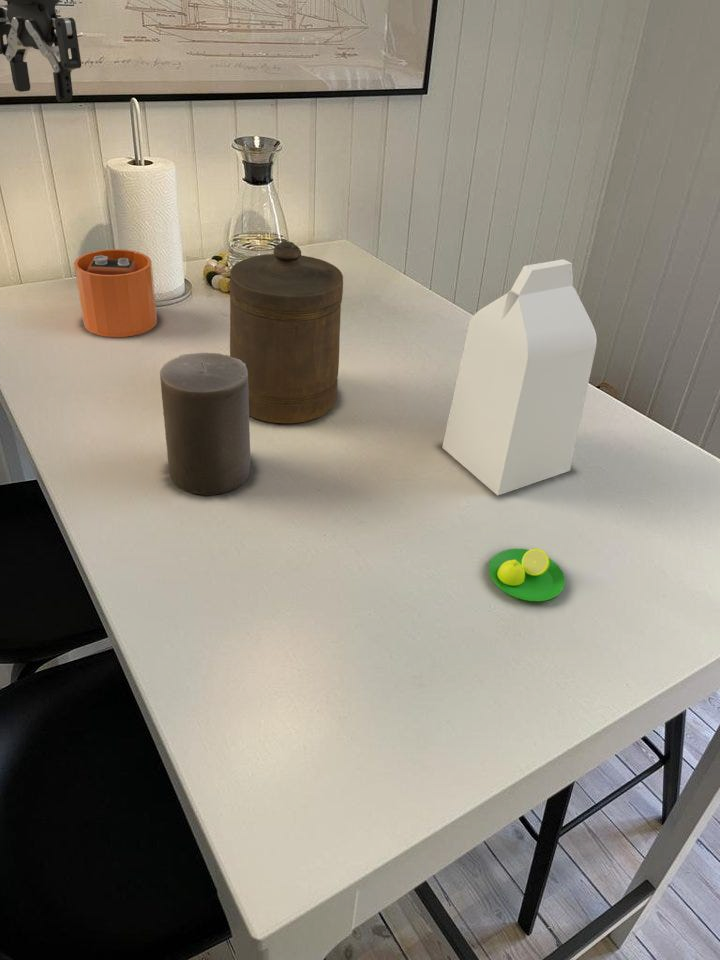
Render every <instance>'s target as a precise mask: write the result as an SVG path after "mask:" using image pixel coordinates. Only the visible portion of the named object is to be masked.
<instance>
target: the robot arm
mask: <svg viewBox="0 0 720 960" xmlns="http://www.w3.org/2000/svg"><path fill="white" fill-rule="evenodd" d="M3 1H5V2H7V3H6V4H0V55H3V56H4V57H5V59H6V60H7V61H8V62H9V66H10V72H11V79H12V83H13V86H14V90H15V91H17V92H19V93H20V92H29V91H31V80H30V73H29V68H28V62H27V61H25V60H26V59H27V55H28V52H29V50H31V49H32V48H33V49H34V50H38V51H40V54H41V55H42V56H43V57H44V58H46V59H47V61H48V62H49V64H50V65H51V68H52V70H53V71H52V76H53V83H54V90H55V91H54V92H55V98H56V101H57V102H60V103H69V102H71V101H73V95H74V92H73V81H72V75H71V74H72V71H74V70H76V69H81V68H82V58H81V52H80V45H79V38H78V31H77V25H76V21H75V19H74V18H73V17H58V15H57V12H56V6H57V5H58V4H59V3H60V1H61V0H3ZM4 36H6V38H5V39H6V43H4V42H5V41H4ZM69 49H70V55H71V58H70V55H69ZM58 59H59V60H58Z"/></svg>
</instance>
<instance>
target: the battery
mask: <svg viewBox="0 0 720 960" xmlns="http://www.w3.org/2000/svg"><path fill="white" fill-rule="evenodd" d="M87 270H88V272H90V273H94V274H100V275H119V274H127V273H132V272H136V271H137V263H136V261H133V260H128V259H127V258H120V259H118V260H113V259H108V257H106V256H103V255H101V256H95V257H94V260H93V261H92V262H91V264H90V266H89V267H88V269H87Z"/></svg>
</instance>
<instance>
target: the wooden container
mask: <svg viewBox="0 0 720 960" xmlns="http://www.w3.org/2000/svg"><path fill="white" fill-rule="evenodd" d="M343 293H344V275H343V273H342V271H341V270H340V269H339V268H338V266H335V265H334V264H332V263H330V262H329V261H325V260H323V259H320V258H317V257H312V256H308V255H302V250H301V248H300V247H299V246H298V245H296V244H295V243H294V242H292V241H281V242H280V243H277V244H276V245H275V246H274V248H273V253H267V254H260V255H255V256H250V257H247V258H244V259H242V260H240V261H238V262H236V263H235V264H234V265H232V267H231V268H230V271H229V305H230V306H229V356H230V357H233V358H236V359H239V360H241V361H242V362H243V363H245V364H246V368H247V370H248V394H249V417H251V418H254V419H256V420H260V421H263V422H267V423H275V424H299V423H306V422H311V421H313V420H316V419H319V418H320V417H323V416H324V415H326V414H328V413H329V412H330V411H331V410H332V409H333V407H334V406H335V405H336V402H337V394H338V377H339V368H340V345H341V344H340V341H341V337H340V336H341V314H342V313H341V312H342V311H341V309H342V302H343Z"/></svg>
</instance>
